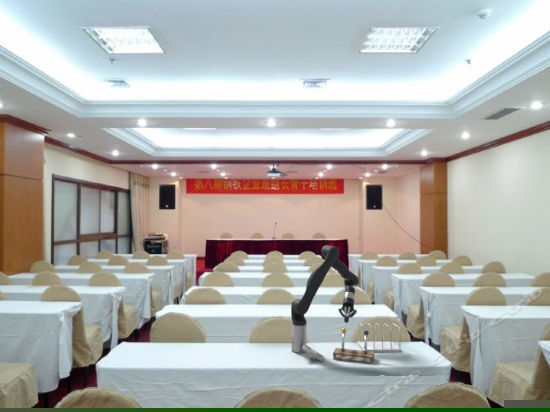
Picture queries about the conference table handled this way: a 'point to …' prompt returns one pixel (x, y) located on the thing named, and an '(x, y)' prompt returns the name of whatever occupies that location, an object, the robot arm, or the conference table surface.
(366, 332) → the lever black
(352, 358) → the switch panel
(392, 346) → the file sorter
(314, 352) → the light switch
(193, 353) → the conference table surface
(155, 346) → the conference table surface
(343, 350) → the lever orange
